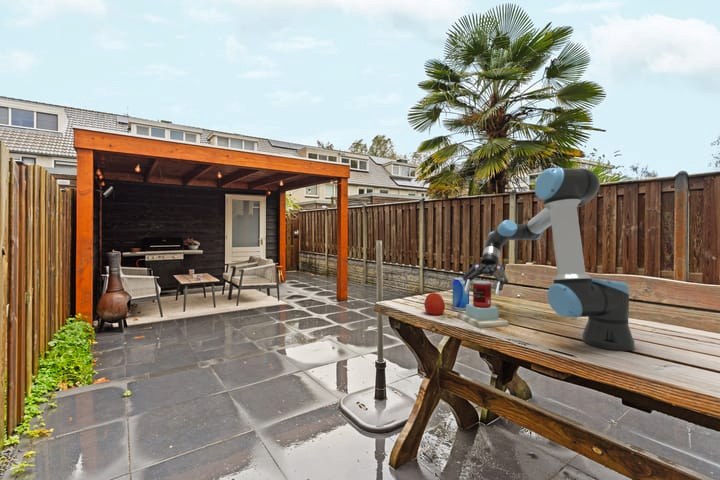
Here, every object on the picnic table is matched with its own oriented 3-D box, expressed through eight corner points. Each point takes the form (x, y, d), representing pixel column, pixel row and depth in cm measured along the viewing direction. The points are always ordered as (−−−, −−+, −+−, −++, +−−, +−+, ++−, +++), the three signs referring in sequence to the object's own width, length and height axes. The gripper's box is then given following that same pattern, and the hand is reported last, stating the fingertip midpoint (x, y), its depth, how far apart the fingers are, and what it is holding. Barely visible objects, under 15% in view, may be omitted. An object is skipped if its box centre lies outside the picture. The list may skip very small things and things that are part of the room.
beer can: (449, 307, 180) (449, 277, 180) (462, 306, 183) (463, 277, 182) (458, 311, 172) (458, 280, 172) (472, 309, 175) (472, 279, 174)
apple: (421, 311, 172) (421, 291, 172) (441, 311, 173) (441, 290, 172) (426, 316, 162) (426, 294, 162) (447, 316, 162) (447, 294, 162)
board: (508, 325, 145) (508, 321, 145) (479, 328, 142) (479, 323, 142) (483, 315, 162) (483, 311, 162) (457, 317, 159) (457, 313, 159)
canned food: (488, 304, 156) (488, 280, 155) (493, 308, 148) (493, 283, 147) (471, 304, 156) (471, 280, 156) (475, 307, 148) (475, 283, 148)
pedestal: (498, 319, 148) (498, 307, 148) (478, 320, 146) (478, 309, 146) (485, 313, 158) (485, 303, 158) (465, 315, 156) (465, 304, 156)
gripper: (519, 264, 157) (512, 301, 146) (466, 261, 172) (455, 295, 160) (517, 253, 153) (509, 291, 141) (463, 252, 168) (451, 286, 156)
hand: (480, 293), depth 151 cm, fingers open, 13 cm apart
